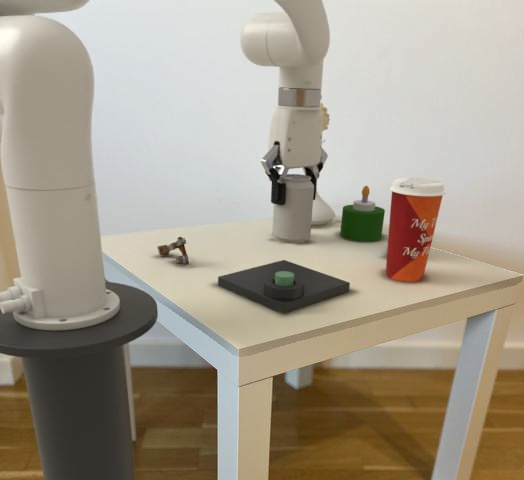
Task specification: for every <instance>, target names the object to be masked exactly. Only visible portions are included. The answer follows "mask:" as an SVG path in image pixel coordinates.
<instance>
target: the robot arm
mask: <svg viewBox="0 0 524 480" xmlns="http://www.w3.org/2000/svg"><path fill="white" fill-rule="evenodd" d="M273 1H274V2H275V3H277V5H278V6H279V7H280V8H281V9H282V10H283V11H278V12H277V11H276V12H275V11H274V12H261V13H257V14H254V15H252V16H250V17H249V18H247V20H246V21H245V22H244V23H243V25H242V28H241V31H240V35H239V43H240V49H241V50H242V53H243V55H244V56H245V58H246V59H247V60H248V61H249V62H250V63H252V64H254V65H256V66H260V67H277V68H278V70H279V71H278V91H277V107H275V108H274V109H273V113H272V117H271V122H270V128H269V133H268V134H269V135H268V145H267V153H266V154H265V155H264V156H263V157H262V158H261V160H260V164H261V165H262V167H263V169H264V172H265V174H266V176H267V177H268V181H269V182H271V189H270V190H271V191H270V195H271V196H270V202H271V204H273V205H274V204H277V205H281V206H282V205H285V197H286V183H283V182H284V179H285V177H286V175H287V174H288V172H289V170H293V169H302V171H303V174H304V175H307V176H310V177H311V180H310V181H311V182H312V183H313V185H314V195H313V200H315V197H316V183H317V184H318V179H319V178H320V173H321V171H322V170H323V168H324V165H325V164H326V161H327V159H328V156H329V155H328V153H327V152H326V151H325V149H324V148H323V143H322V142H323V132H322V116H321V109H320V103H322V101H321V100H322V88H323V87H322V85H323V74H324V73H323V71H324V59H325V58H326V56H327V54H328V52H329V48H330V42H331V41H330V40H331V33H330V25H329V20H328V16H327V12H326V7H325V5H324V2H323V0H273ZM89 2H90V0H0V116H2V117H3V124H2V132H1V140H0V165H1V172H2V177H3V183H4V186H5V192H6V198H7V203H8V209H9V214H10V220H11V221H10V222H11V227H12V231H13V233H12V234H13V238H14V245H15V250H16V255H17V261H18V267H19V272H20V273H19V274H20V277H14V278H13V279H12V280H13V286H9V287H7V288H6V289H7V290H4V291H0V309H1V311H2V313H3V314H6V313H10V312H13V315H14V318H15V320H16V321H17V322H18V323H20V324H21V325H24V326H26V327H29V328H33V329H38V330H48V331H63V330H74V329H80V328H86V327H90V326H93V325H97V324H99V323H102V322H105V321H107V320H108V319H110V318H112V317H113V316H114V315H116V314H117V312H118V311H119V309H120V299H119V297H118V295H116V294H115V293H114V292H112V291H110V290H107V289H106V285H105V282H106V276H105V266H104V257H103V247H102V238H101V228H100V227H101V226H100V218H99V217H100V216H99V208H98V207H99V206H98V197H97V188H96V180H95V179H96V178H95V170H94V160H93V159H94V157H93V145H92V144H93V143H92V142H93V141H92V140H93V139H92V123H93V121H92V120H93V111H94V110H93V109H94V108H93V107H94V99H95V98H94V97H95V73H94V67H93V62H92V60H91V56H90V54H89V51H88V49H87V48H86V46H85V44H84V43H83V41H82V39H81V38H79V36H78V35H77V34H76V33H75V32H74V31H73V30H71V29H70V28H69V27H68V26H66V24H65V25H64V24H63V23H62V22H60V21H58V20H55V19H53V18H49V17H45V16H41V15H39V14H55V13H56V14H57V13H66V12H73V11H77V10H79V9H81V8H83V7H85V6H86V5H87V4H88V3H89Z"/></svg>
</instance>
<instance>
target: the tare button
mask: <svg viewBox="0 0 524 480" xmlns="http://www.w3.org/2000/svg"><path fill="white" fill-rule="evenodd" d="M275 284H276V285H279V286H292V285H293V284H294V274H293V273H291V272H288V271H280V272H276V273H275Z"/></svg>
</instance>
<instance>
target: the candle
mask: <svg viewBox="0 0 524 480" xmlns="http://www.w3.org/2000/svg"><path fill="white" fill-rule="evenodd" d="M370 193H371V191H370V187H369V186H368V185H365V186H363V188H362V191H361V195H362V198H361V199H360V200H359V199H357V200H353V203H352V204H346V205H344V206H342V213H341V221H340V223H341V224H340V233H339V236H340V237H341V238H343V239H345V240H349V241H353V242H359V243H360V242H361V243H362V242H363V243H368V242H369V243H372V242H378V241H380V240H381V239H382V236H383V228H384V221H385V213H386V210H385V209H384V208H382V207H381V206H377V205H376V202H375V201H372V200H369V196H370Z"/></svg>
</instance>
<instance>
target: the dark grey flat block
mask: <svg viewBox="0 0 524 480" xmlns="http://www.w3.org/2000/svg"><path fill="white" fill-rule="evenodd" d="M280 271H288V272H291V273H293V274H294V284H293V285H292V286H279V285H276V284H275V273H276V272H280ZM350 284H351V282H350V281H346V280H343V279H340V278H337V277H336V276H335V277H334V276H332V275H329V274H327V273H323V272H321V271H318V270H315V269H312V268H310V267H305V266H303V265H301V264H297V263H294V262H292V261H288V260H286V259H282V260H278V261H275V262H270V263H266V264H263V265H259V266H255V267H250V268H247V269H242V270H239V271H236V272H231V273H227V274H223V275H220V276H218V277H217V286H219V287H221V288H223V289H225V290H228V291H230V292H233V293H235V294H237V295H239V296H241V297H244V298H247V299H249V300H251V301H252V302H256V303H258V304H259V305H262V306H265V307H266V308H268V309H271V310H274V311H276V312H278V313H281V314H286V313H290V312H293V311H295V310H298V309H300V308H304V307H306V306H310V305H312V304H315V303H319V302H322V301H324V300H327V299H331V298H333V297H337V296H340V295H342V294H345V293H348V292H349V291H350Z"/></svg>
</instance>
